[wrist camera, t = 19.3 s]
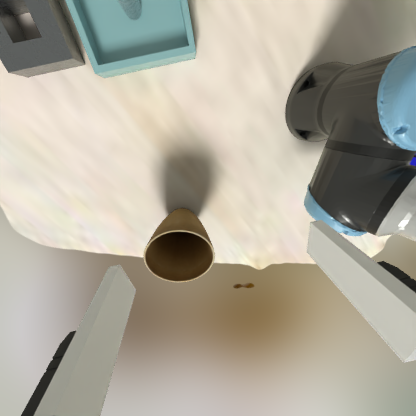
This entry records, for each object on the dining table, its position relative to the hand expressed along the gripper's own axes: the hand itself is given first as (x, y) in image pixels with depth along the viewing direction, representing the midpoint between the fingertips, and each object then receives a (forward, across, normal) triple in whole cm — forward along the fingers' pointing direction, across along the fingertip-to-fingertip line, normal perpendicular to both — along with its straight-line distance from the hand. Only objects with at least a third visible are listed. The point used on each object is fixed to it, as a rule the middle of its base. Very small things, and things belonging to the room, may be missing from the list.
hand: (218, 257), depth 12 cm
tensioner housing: (+35, -22, +26) cm, 49 cm away
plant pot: (+35, -8, -17) cm, 40 cm away
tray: (+35, -5, +26) cm, 44 cm away
